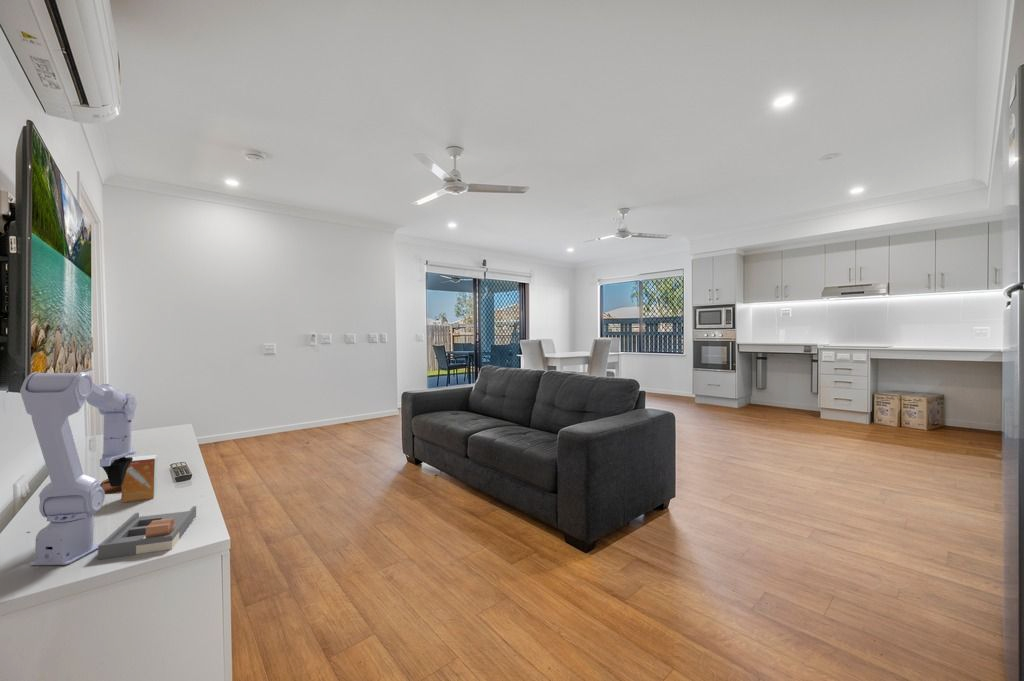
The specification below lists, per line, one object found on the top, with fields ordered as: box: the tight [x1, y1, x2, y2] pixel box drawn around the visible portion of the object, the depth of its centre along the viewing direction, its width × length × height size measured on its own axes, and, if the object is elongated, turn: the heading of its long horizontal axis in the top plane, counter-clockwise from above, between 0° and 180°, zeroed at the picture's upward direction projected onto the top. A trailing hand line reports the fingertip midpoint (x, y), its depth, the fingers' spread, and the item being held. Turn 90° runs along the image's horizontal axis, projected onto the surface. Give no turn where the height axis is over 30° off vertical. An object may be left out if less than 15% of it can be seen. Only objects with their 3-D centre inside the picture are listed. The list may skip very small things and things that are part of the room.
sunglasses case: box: [100, 478, 122, 495], centre depth 151 cm, size 18×7×7 cm
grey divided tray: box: [97, 505, 197, 560], centre depth 113 cm, size 21×14×3 cm, turn 23°
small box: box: [120, 454, 159, 503], centre depth 140 cm, size 8×6×13 cm
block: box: [146, 518, 174, 538], centre depth 108 cm, size 4×4×4 cm
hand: (116, 485), depth 120 cm, fingers closed
